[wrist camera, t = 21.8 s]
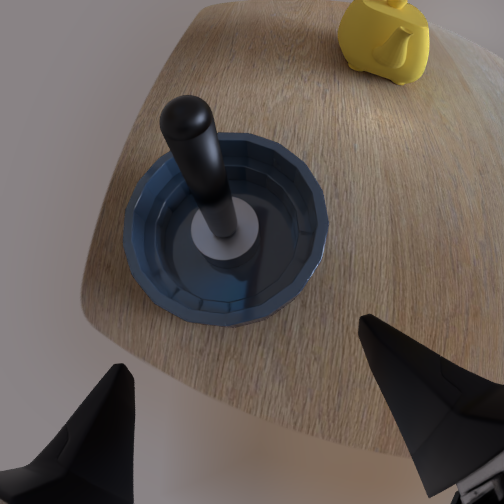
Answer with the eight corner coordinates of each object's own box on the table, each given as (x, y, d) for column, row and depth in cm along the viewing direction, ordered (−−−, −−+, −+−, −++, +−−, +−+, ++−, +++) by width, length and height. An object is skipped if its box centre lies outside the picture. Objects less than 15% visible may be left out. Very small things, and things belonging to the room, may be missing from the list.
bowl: (272, 356, 19) (274, 364, 14) (123, 278, 20) (90, 263, 16) (337, 204, 21) (354, 172, 17) (198, 151, 23) (185, 114, 19)
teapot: (424, 126, 24) (466, 54, 13) (326, 93, 25) (343, 6, 15) (409, 48, 28) (428, -6, 18) (338, 25, 30) (347, -33, 19)
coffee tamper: (271, 227, 20) (277, 82, 8) (237, 280, 19) (191, 183, 7) (220, 199, 21) (175, 54, 9) (186, 248, 20) (92, 133, 8)
